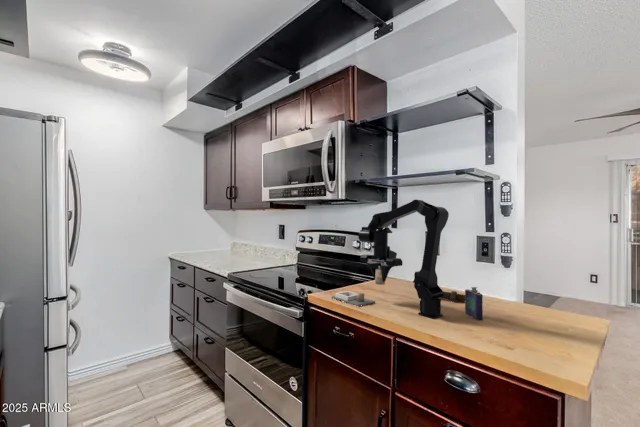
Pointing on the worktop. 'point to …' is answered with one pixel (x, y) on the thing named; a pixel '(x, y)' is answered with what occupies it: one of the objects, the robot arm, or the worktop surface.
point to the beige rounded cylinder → (378, 277)
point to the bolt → (453, 296)
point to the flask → (474, 304)
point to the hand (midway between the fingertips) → (380, 280)
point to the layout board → (352, 298)
